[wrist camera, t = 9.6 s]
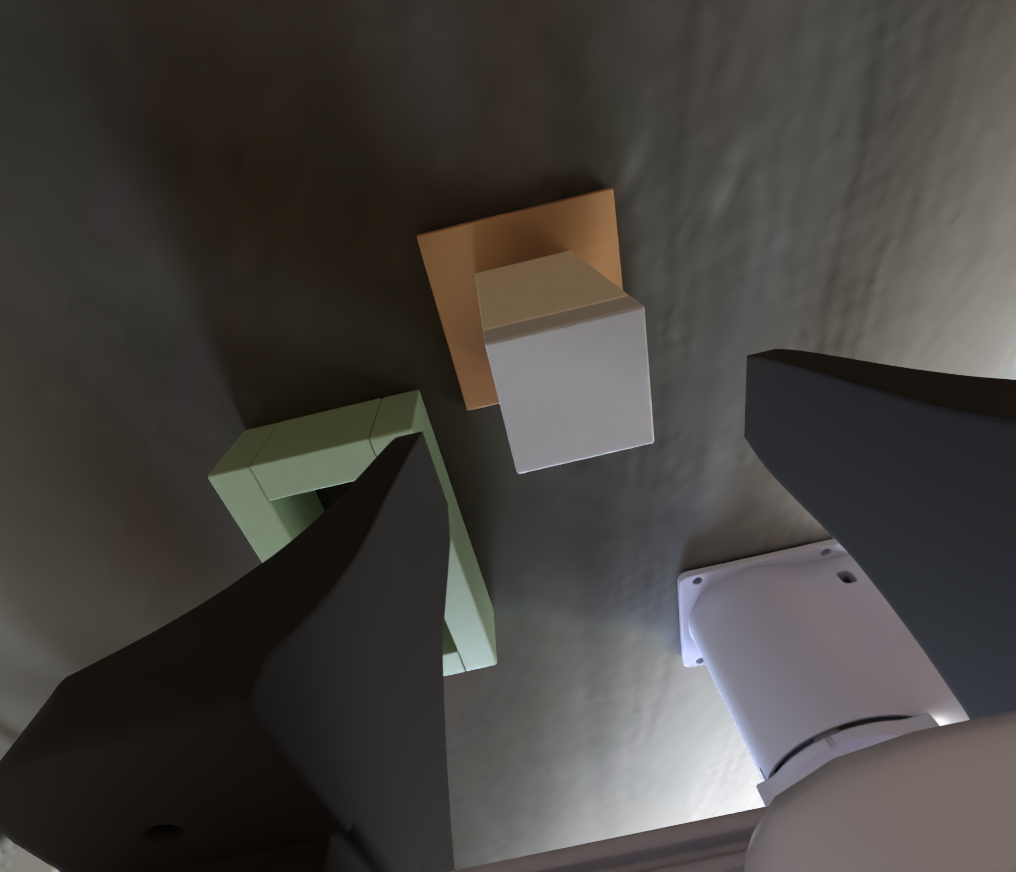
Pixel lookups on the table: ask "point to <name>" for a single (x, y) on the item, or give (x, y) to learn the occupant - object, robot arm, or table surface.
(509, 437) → the cream rectangular block
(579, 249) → the cork pad
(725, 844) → the robot arm
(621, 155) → the table surface
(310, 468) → the holder
